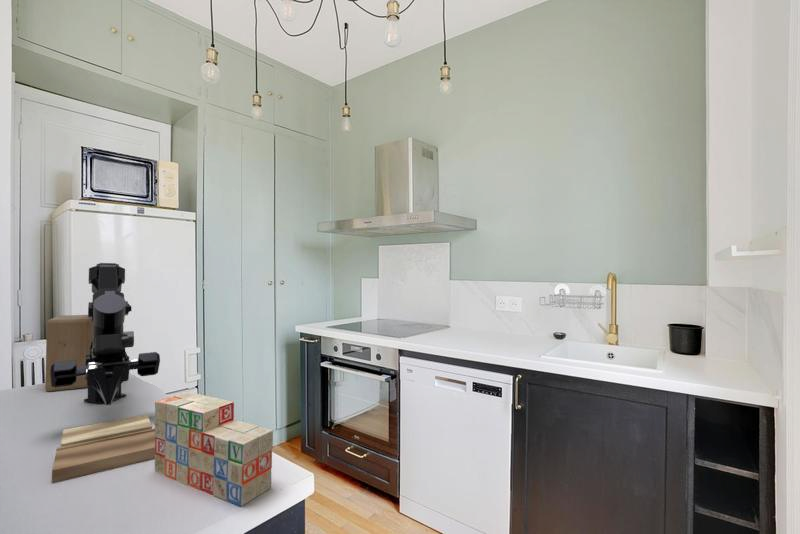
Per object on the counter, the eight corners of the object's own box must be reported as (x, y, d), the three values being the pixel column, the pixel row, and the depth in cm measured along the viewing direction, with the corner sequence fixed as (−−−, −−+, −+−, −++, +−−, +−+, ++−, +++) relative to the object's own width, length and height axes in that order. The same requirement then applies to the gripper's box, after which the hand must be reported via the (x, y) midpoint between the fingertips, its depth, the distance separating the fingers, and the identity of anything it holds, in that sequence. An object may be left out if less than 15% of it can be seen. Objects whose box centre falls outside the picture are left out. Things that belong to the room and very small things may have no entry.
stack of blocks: (272, 488, 63) (274, 410, 63) (240, 508, 57) (242, 424, 58) (187, 456, 73) (188, 390, 73) (152, 472, 67) (154, 399, 67)
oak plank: (63, 429, 78) (61, 444, 71) (147, 414, 86) (152, 425, 80) (62, 445, 78) (61, 460, 71) (146, 428, 86) (151, 440, 80)
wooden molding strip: (56, 459, 71) (57, 446, 71) (154, 438, 80) (154, 427, 80) (51, 482, 63) (52, 468, 63) (160, 457, 72) (160, 444, 72)
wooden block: (44, 392, 107) (45, 319, 107) (54, 383, 116) (56, 315, 116) (90, 388, 112) (91, 317, 112) (97, 379, 121) (98, 314, 121)
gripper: (52, 322, 80) (45, 391, 71) (159, 316, 91) (165, 375, 82) (54, 354, 86) (48, 421, 77) (155, 345, 97) (159, 402, 88)
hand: (108, 403), depth 81 cm, fingers closed
